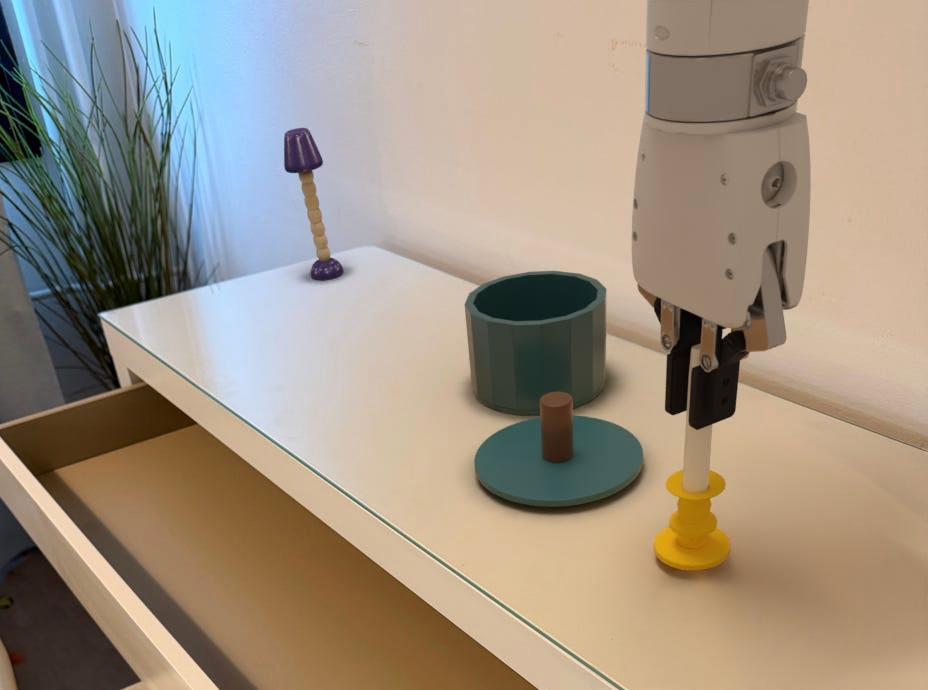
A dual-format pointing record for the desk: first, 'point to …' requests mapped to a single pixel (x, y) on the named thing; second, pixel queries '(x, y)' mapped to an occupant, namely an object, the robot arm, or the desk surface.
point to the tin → (536, 339)
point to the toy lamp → (310, 196)
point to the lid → (558, 457)
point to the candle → (693, 503)
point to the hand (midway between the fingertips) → (699, 412)
